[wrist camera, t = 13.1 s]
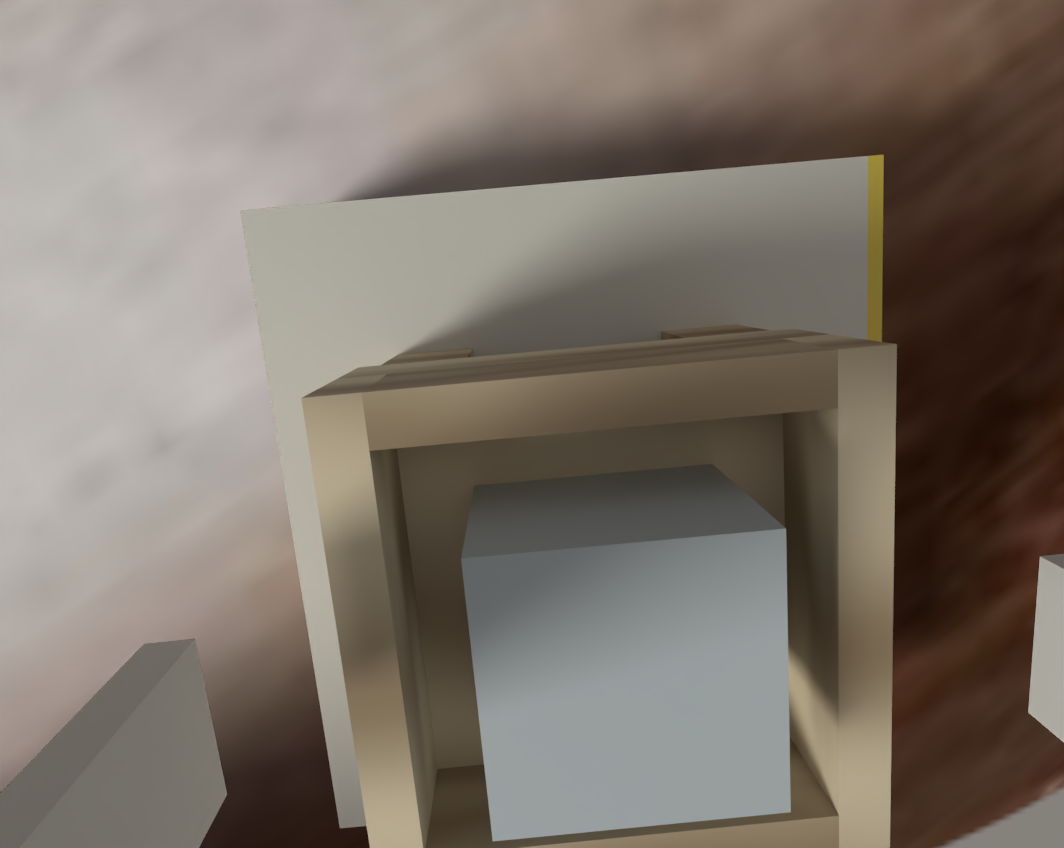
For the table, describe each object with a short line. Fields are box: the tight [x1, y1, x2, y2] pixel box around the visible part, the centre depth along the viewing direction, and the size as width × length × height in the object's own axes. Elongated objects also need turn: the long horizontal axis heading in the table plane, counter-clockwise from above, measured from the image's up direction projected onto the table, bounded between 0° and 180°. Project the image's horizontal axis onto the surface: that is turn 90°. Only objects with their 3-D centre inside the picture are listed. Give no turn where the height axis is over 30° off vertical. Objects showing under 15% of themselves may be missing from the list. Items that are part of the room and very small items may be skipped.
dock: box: [240, 155, 884, 828], centre depth 22 cm, size 18×16×5 cm
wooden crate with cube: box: [301, 325, 897, 848], centre depth 16 cm, size 10×10×7 cm
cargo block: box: [461, 464, 791, 841], centre depth 13 cm, size 5×5×4 cm
